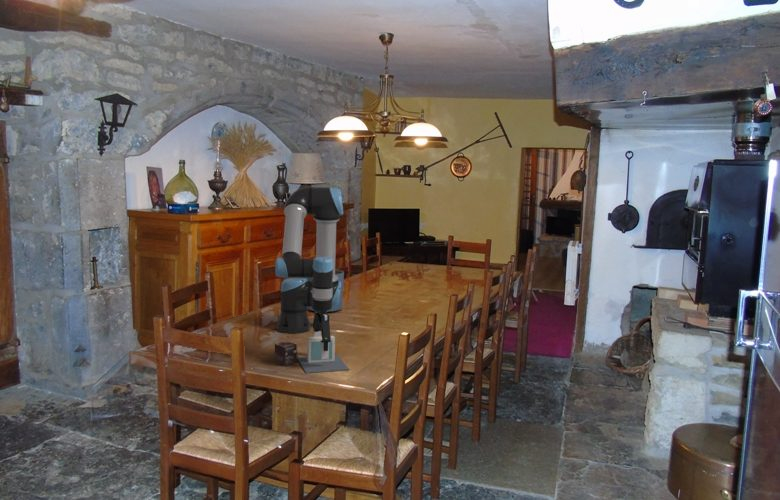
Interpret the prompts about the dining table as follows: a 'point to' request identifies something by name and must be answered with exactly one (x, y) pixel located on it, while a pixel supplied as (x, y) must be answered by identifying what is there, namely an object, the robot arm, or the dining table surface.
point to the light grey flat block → (319, 349)
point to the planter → (340, 278)
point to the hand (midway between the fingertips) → (320, 353)
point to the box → (285, 353)
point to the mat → (322, 365)
